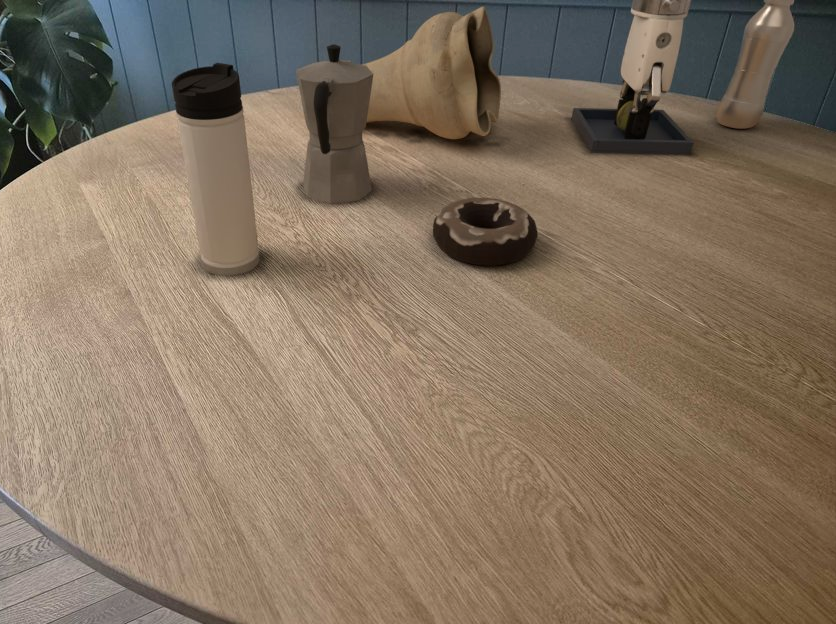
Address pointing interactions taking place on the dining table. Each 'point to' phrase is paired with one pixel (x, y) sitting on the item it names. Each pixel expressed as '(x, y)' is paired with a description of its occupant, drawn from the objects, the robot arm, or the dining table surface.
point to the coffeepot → (335, 128)
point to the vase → (440, 78)
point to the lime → (624, 115)
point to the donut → (485, 231)
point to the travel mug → (217, 167)
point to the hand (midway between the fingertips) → (629, 130)
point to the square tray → (610, 139)
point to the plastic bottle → (756, 64)
